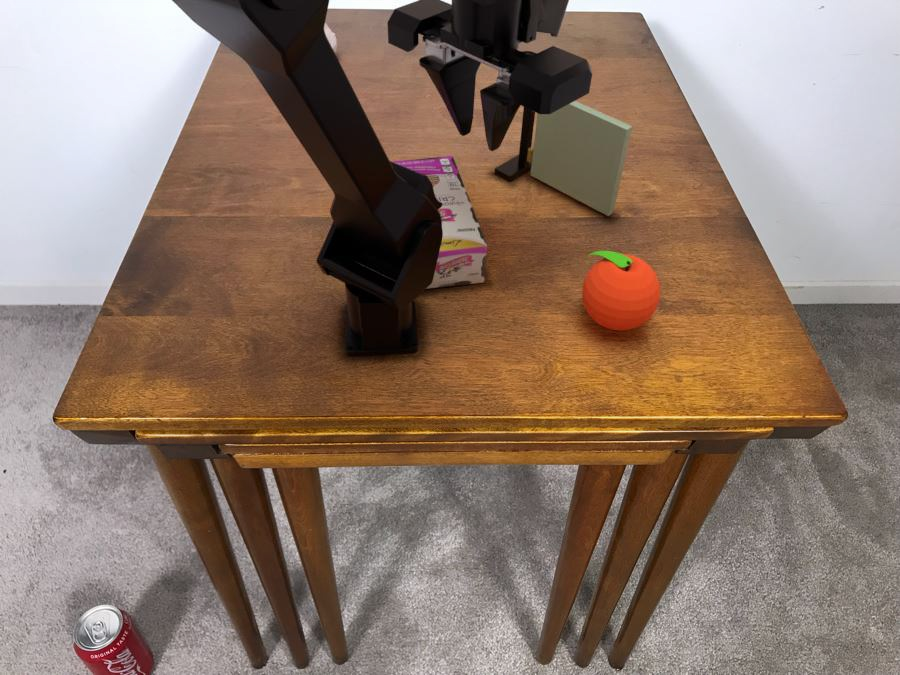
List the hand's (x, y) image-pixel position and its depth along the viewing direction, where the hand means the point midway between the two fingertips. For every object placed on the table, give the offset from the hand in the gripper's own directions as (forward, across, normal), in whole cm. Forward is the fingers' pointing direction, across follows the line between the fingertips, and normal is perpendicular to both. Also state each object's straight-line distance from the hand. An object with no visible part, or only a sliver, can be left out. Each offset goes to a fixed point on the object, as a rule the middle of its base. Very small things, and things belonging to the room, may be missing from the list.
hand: (479, 141), depth 66 cm
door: (+12, -2, -14) cm, 19 cm away
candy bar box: (+10, +12, -1) cm, 15 cm away
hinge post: (+12, +6, -14) cm, 20 cm away
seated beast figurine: (+12, +47, -14) cm, 50 cm away
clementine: (+12, -16, -1) cm, 21 cm away
